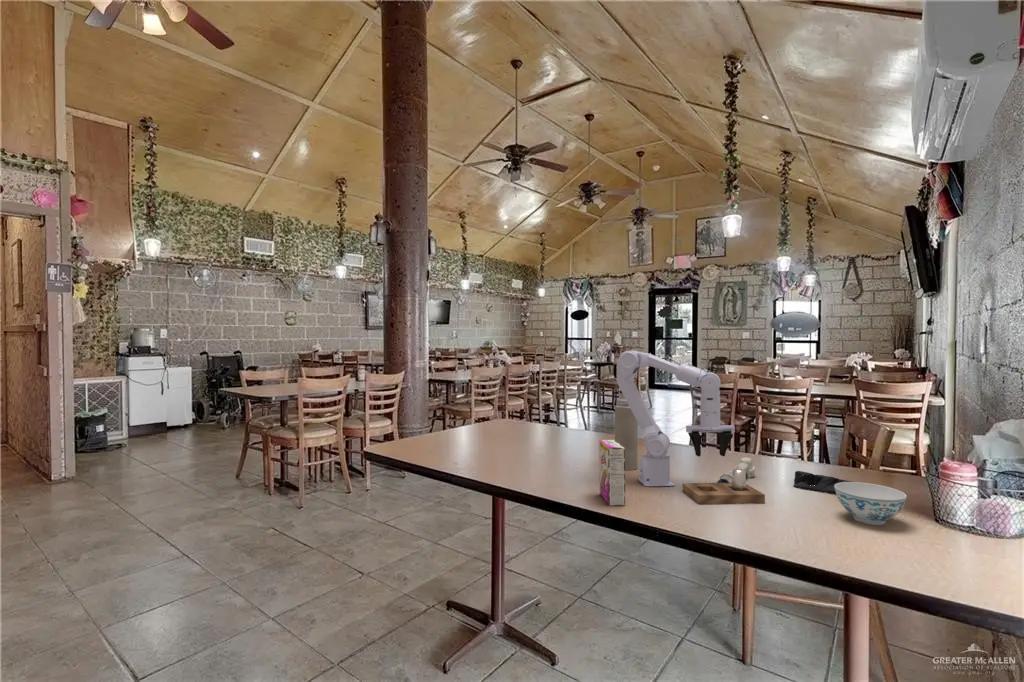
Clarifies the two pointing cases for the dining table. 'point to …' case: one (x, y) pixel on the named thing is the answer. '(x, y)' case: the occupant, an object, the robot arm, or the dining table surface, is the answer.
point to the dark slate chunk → (816, 482)
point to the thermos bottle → (626, 431)
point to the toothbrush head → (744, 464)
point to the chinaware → (870, 501)
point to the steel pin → (738, 479)
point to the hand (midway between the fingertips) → (710, 455)
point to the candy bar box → (612, 472)
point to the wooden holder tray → (721, 493)
